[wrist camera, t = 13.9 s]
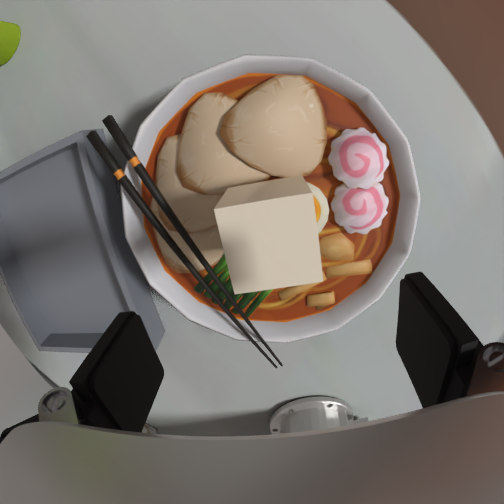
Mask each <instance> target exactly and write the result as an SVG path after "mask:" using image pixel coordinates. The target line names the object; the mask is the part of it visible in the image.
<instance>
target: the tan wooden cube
mask: <svg viewBox="0 0 504 504" xmlns="http://www.w3.org/2000/svg"><path fill="white" fill-rule="evenodd" d="M214 212H215V216H216V221H217V225H218V229H219V233H220V237H221V241H222V246H223V250H224V254H225V258H226V262H227V266H228V270H229V274H230V278H231V282H232V286H233V290H234V294H241V293H249V292H256V291H263V290H270V289H277V288H284V287H291V286H298V285H304V284H311V283H317V282H323V273H322V264H321V254H320V245H319V237H318V229H317V221H316V213H315V206H314V198H313V192H312V191H311V189H310V188H309V186H308V184H307V183H306V181H305V180H304V178H303V176H302V175H301V176H294V177H288V178H282V179H275V180H269V181H264V182H258V183H252V184H246V185H241V186H236V187H230V188H228V189H227V190H226V192H225V193H224V195H223V196H222V198H221V199H220V201H219V202H218V204H217V205H216V207H215V208H214Z"/></svg>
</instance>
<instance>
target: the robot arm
mask: <svg viewBox="0 0 504 504" xmlns="http://www.w3.org/2000/svg"><path fill="white" fill-rule="evenodd" d="M396 347H397V351H398V353H399V355H400V357H401V359H402V361H403V364H404V366H405V368H406V370H407V372H408V375H409V377H410V379H411V381H412V384H413V386H414V388H415V390H416V393H417V395H418V397H419V400H420V402H421V404H422V407H423V409H419V410H415V411H411V412H407V413H403V414H399V415H395V416H391V417H386V418H381V419H377V420H372V421H368V418H367V417H366V418H361V419H358V420H353V412H352V410H351V408H350V406H349V405H348V404H347V403H345V402H344V401H341V400H339V399H336V398H331V397H323V396H319V397H307V398H302V399H298V400H295V401H292V402H289V403H287V404H285V405H283V406H282V407H280V408H279V409H277V410H276V411H275V412H274V414H273V415H272V417H271V419H270V431H271V433H272V434H271V435H254V436H180V435H163V434H150V433H142V430H143V427H144V425H145V422H146V420H147V417H148V415H149V412H150V410H151V407H152V404H153V402H154V399H155V397H156V394H157V392H158V390H159V387H160V385H161V382H162V380H163V377H164V369H163V367H162V364H161V362H160V360H159V358H158V356H157V354H156V351H155V349H154V347H153V344H152V342H151V340H150V338H149V335H148V333H147V330H146V328H145V326H144V323H143V321H142V318H141V316H140V315H137V314H136V313H135V312H134V311H128V312H120V313H118V315H117V316H116V317H115V319H114V320H113V321H112V323H111V324H110V325H109V327H108V328H107V329H106V331H105V332H104V333H103V335H102V336H101V337H100V339H99V340H98V342H97V343H96V344H95V346H94V347H93V348H92V350H91V351H90V353H89V354H88V355H87V357H86V358H85V360H84V361H83V363H82V364H81V365H80V367H79V368H78V370H77V371H76V373H75V374H74V375H73V377H72V378H71V380H70V381H69V383H70V384H71V386H72V387H73V389H72V391H70V390H69V389H68V388H65V387H58V388H54V389H52V390H50V391H48V392H47V393H46V394H45V395H44V396H43V397H42V398H41V399H40V402H39V405H38V412H39V414H37V415H35V416H33V417H31V418H29V419H26V420H25V421H22V422H20V423H18V424H16V425H14V426H12V427H10V428H7V429H5V430H4V431H3V432H2V434H1V437H0V504H504V343H502V342H492V343H489V344H486V345H484V346H483V345H482V343H481V342H480V341H479V339H478V338H477V337H476V335H475V334H474V333H473V331H472V330H471V329H470V328H469V326H468V325H467V324H466V323H465V321H464V320H463V319H462V318H461V317H460V315H459V314H458V313H457V312H456V311H455V309H454V308H453V307H452V306H451V305H450V303H449V302H448V301H447V300H446V299H445V298H444V296H443V295H442V294H441V293H440V292H439V291H438V290H437V288H436V287H435V286H434V285H433V284H432V283H431V282H430V281H429V279H428V278H427V277H426V276H425V275H424V274H423V273H422V272H416V273H411V274H406V275H405V278H404V279H401V281H400V295H399V311H398V324H397V335H396Z"/></svg>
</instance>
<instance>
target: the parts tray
mask: <svg viewBox="0 0 504 504" xmlns="http://www.w3.org/2000/svg"><path fill="white" fill-rule="evenodd" d="M94 130H96V132H97V133H98V135H99V136H100V138H101V139H102V141H103V142H104V144H105V145H106V140H105V136H104V131H103V129H94ZM94 130H85V131H80V132H78V133H75V134H73V135H71V136H69V137H67V138H64V139H62V140H60V141H58V142H56V143H54V144H52V145H50V146H48V147H46V148H44V149H42V150H40V151H38V152H36V153H34V154H32V155H30V156H28V157H26V158H24V159H22V160H21V161H19V162H17V163H15V164H13V165H12V166H10V167H8V168H7V169H5V170H3V171H1V172H0V274H1V276H2V279H3V281H4V283H5V286H6V288H7V290H8V292H9V294H10V297H11V299H12V301H13V303H14V305H15V307H16V309H17V311H18V313H19V315H20V317H21V319H22V321H23V323H24V325H25V327H26V328H27V330H28V332H29V334H30V336H31V338H32V339H33V341H34V343H35V345H36V346H37V348H38V350H39V351H54V352H76V353H90V351H91V350H92V348H93V347H94V346H95V344H96V343H97V342H98V340H99V339H100V337H101V336H102V335H103V333H104V332H105V331H106V329H107V328H108V327H109V325H110V324H111V323H112V321H113V320H114V319H115V317H116V316H117V315H118V313H120V312H128V311H134V312H135V313H136V314H137V315H140V316H141V318H142V321H143V323H144V326H145V328H146V330H147V333H148V335H149V338H150V340H151V342H152V344H153V347H154V349H155V351H156V350H157V348H158V346H159V343H160V341H161V339H162V337H163V335H164V333H165V330H164V327H163V325H162V322H161V320H160V317H159V315H158V312H157V309H156V307H155V304H154V302H153V299H152V296H151V294H150V291H149V288H148V285H147V283H146V280H145V277H144V274H143V272H142V270H141V268H140V266H139V264H138V262H137V260H136V258H135V256H134V254H133V252H132V250H131V248H130V246H129V244H128V242H127V240H126V238H125V231H124V221H123V211H122V204H121V201H120V197H119V194H118V190H117V186H116V182H115V178H114V175H113V173H112V172H111V170H110V169H109V168H108V166H107V165H106V164H105V162H104V161H103V159H102V158H101V157H100V155H99V154H98V152H97V151H96V150H95V148H94V147H93V145H92V144H91V143H90V141H89V140H88V138H87V137H86V136H87V135H88V134H89V133H90V132H91V131H94ZM106 147H107V145H106Z"/></svg>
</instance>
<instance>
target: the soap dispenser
mask: <svg viewBox="0 0 504 504" xmlns="http://www.w3.org/2000/svg"><path fill="white" fill-rule="evenodd" d="M20 35H21V32H20V27H19V26H18V25H17V24H13V23H9V22H3V21H0V65H3V64H5V63H6V62H8V61H9V60H10V58H11V57H12V56H13V54H14V53H15V51H16V49H17V47H18V44H19V41H20Z"/></svg>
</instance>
